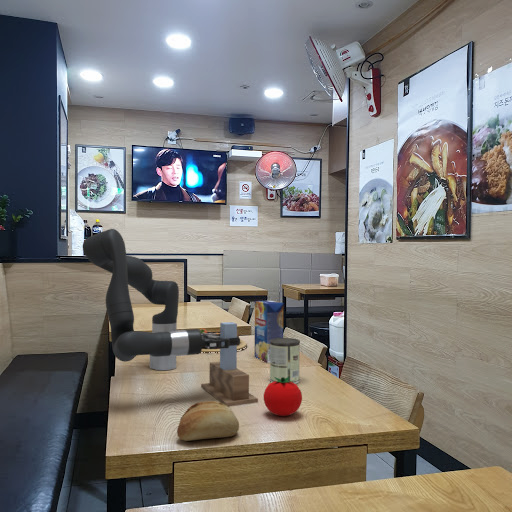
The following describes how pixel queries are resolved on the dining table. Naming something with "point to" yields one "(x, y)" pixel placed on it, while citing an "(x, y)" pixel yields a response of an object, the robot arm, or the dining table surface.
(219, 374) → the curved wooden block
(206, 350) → the wooden plate with food
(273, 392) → the tomato
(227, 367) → the blue gray rectangular block
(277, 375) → the coffee can
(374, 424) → the dining table surface
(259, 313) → the juice carton
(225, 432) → the bread roll
